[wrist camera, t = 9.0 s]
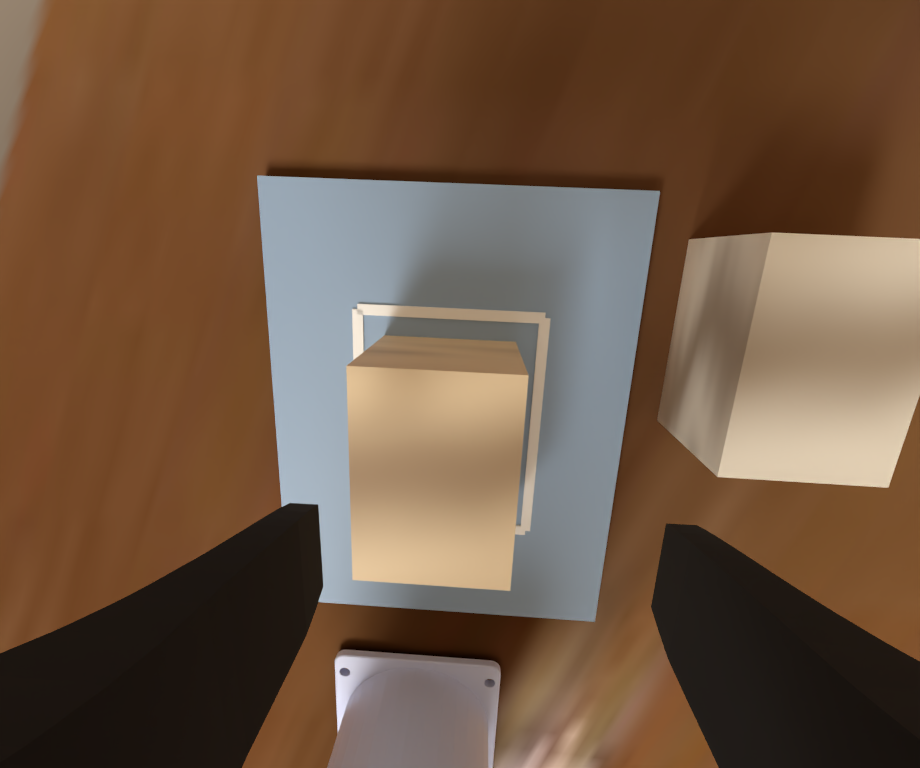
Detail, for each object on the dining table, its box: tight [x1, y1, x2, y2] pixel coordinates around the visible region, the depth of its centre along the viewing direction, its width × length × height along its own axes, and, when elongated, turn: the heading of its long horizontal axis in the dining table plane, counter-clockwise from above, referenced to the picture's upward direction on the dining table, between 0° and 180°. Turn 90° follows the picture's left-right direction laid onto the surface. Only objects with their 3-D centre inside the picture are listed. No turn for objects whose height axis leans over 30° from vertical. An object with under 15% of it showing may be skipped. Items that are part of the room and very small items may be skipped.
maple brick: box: [346, 335, 529, 591], centre depth 16 cm, size 7×5×5 cm
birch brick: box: [657, 232, 920, 488], centre depth 15 cm, size 7×5×5 cm
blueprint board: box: [257, 176, 660, 622], centre depth 18 cm, size 18×14×1 cm
